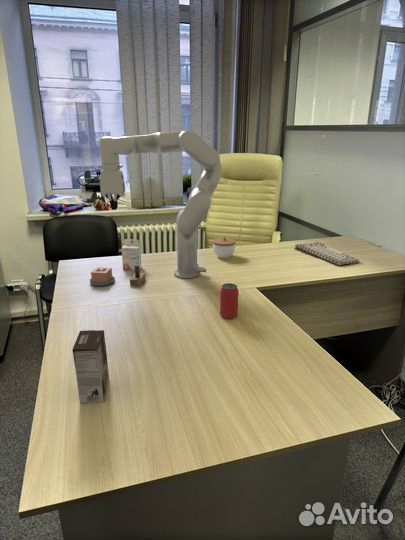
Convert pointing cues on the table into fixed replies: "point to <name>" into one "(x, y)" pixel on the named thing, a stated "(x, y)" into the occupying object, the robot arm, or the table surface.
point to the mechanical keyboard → (326, 254)
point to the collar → (101, 275)
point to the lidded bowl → (224, 247)
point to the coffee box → (91, 366)
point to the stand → (137, 277)
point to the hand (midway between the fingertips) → (114, 209)
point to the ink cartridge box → (131, 254)
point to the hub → (102, 284)
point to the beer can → (229, 301)
